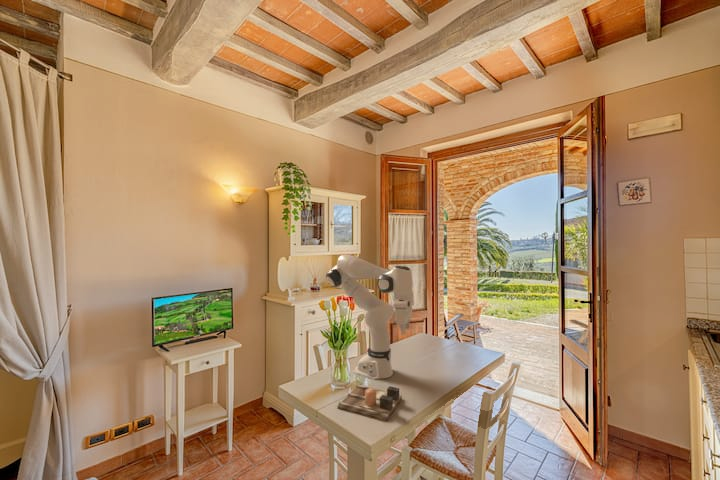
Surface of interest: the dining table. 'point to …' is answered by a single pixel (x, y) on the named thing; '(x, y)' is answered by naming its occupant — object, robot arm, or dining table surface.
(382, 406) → the strip
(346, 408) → the lane board
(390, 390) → the strip
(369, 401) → the orange rounded piece
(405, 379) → the dining table surface
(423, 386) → the dining table surface
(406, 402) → the dining table surface
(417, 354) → the dining table surface
